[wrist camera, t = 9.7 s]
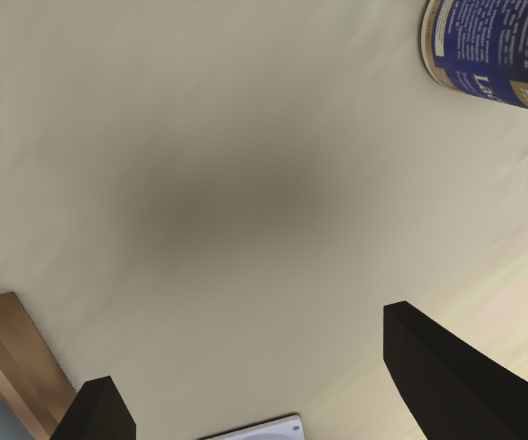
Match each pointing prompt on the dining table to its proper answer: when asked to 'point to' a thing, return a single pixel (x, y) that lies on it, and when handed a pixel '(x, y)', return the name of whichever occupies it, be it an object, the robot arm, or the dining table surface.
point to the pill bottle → (479, 47)
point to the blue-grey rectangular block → (11, 425)
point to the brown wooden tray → (30, 373)
